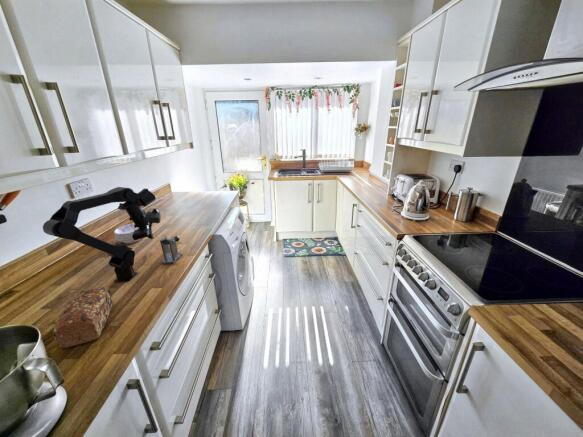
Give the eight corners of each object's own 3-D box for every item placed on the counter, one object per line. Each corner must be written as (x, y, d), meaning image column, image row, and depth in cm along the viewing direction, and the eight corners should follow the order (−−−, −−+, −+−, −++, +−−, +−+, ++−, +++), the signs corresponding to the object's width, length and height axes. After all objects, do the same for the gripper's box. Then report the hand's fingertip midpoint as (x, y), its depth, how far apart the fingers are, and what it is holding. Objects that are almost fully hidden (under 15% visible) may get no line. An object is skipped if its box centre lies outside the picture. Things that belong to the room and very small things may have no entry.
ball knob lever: (175, 241, 126) (174, 235, 126) (180, 241, 126) (180, 235, 126) (163, 245, 115) (163, 239, 115) (169, 245, 115) (169, 239, 115)
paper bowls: (125, 248, 133) (121, 235, 130) (112, 242, 140) (108, 230, 138) (152, 237, 145) (149, 225, 142) (139, 232, 152) (135, 221, 150)
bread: (101, 339, 75) (90, 315, 71) (58, 351, 71) (44, 326, 68) (116, 302, 91) (108, 280, 88) (82, 310, 88) (72, 288, 84)
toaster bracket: (170, 254, 124) (165, 234, 120) (182, 254, 124) (177, 234, 120) (161, 264, 116) (156, 242, 112) (173, 264, 116) (168, 242, 112)
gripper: (151, 218, 101) (167, 245, 110) (157, 198, 116) (170, 223, 125) (123, 226, 99) (142, 252, 108) (132, 204, 114) (148, 229, 123)
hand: (152, 238), depth 116 cm, fingers closed
